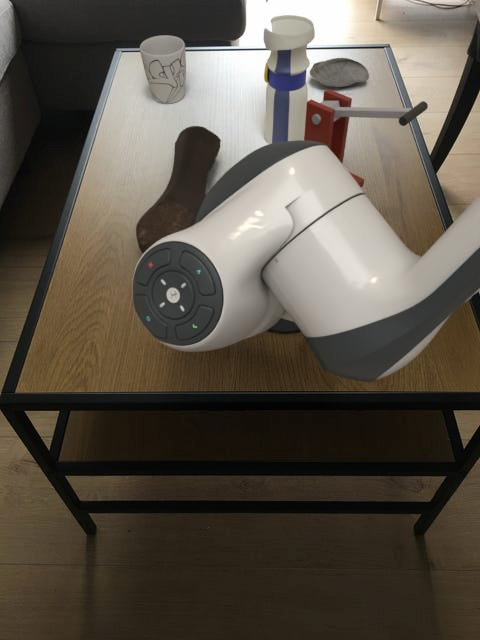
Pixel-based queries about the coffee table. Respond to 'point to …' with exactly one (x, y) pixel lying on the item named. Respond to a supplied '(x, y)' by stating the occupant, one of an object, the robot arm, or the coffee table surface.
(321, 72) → the seashell
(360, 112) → the lever
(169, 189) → the dark brown bone
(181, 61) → the mug
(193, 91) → the coffee table surface
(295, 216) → the robot arm
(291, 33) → the water bottle
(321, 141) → the bracket
